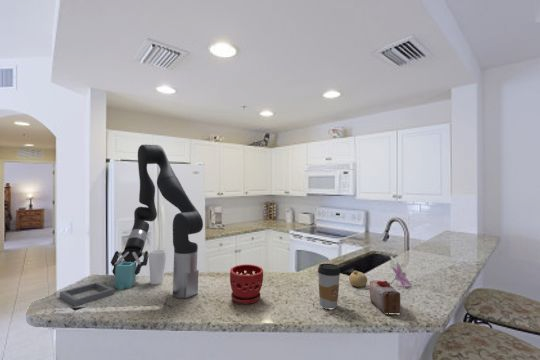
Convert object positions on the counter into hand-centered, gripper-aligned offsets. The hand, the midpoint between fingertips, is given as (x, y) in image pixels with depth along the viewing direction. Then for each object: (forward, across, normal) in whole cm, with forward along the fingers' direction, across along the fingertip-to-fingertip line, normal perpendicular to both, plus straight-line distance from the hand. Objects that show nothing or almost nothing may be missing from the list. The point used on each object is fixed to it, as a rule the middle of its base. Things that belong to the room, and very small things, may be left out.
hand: (125, 274), depth 111 cm
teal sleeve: (+3, 0, +4) cm, 5 cm away
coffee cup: (+21, +81, -12) cm, 84 cm away
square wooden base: (+4, 0, +5) cm, 6 cm away
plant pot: (+15, +50, -6) cm, 53 cm away
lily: (+8, +122, +1) cm, 123 cm away
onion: (+7, +103, +2) cm, 103 cm away
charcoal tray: (+11, -10, -2) cm, 15 cm away
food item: (+22, +102, -13) cm, 105 cm away
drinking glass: (+2, +12, +7) cm, 14 cm away
